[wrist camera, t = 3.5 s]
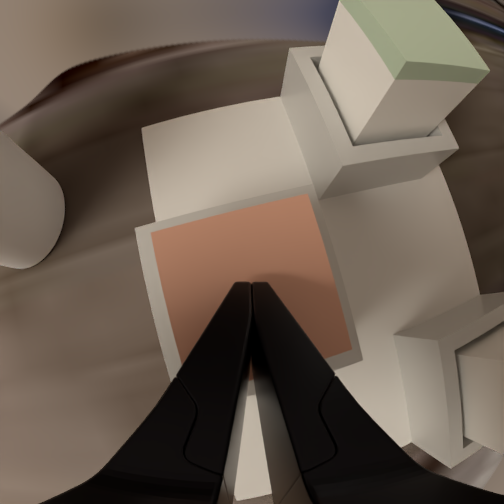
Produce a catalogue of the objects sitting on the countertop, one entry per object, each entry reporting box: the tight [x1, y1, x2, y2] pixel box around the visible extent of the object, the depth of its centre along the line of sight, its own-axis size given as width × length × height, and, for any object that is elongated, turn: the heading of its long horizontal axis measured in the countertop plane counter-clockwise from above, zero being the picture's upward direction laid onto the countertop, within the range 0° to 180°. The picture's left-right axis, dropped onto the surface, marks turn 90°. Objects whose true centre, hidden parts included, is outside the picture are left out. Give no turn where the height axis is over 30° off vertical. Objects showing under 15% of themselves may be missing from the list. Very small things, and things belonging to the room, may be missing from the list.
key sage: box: [317, 0, 490, 146], centre depth 11 cm, size 5×5×6 cm
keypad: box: [135, 46, 504, 501], centre depth 14 cm, size 22×18×4 cm
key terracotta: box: [151, 194, 352, 381], centre depth 11 cm, size 5×5×6 cm
